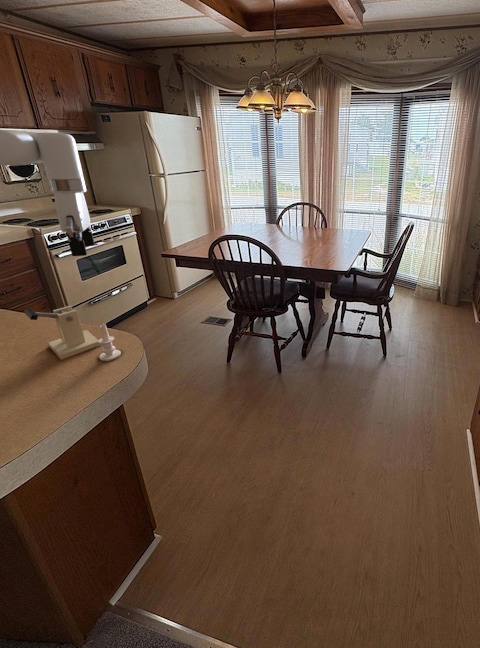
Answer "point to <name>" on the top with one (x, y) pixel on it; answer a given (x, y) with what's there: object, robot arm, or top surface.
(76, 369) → the top surface
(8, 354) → the top surface
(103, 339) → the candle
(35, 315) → the switch lever
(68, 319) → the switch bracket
